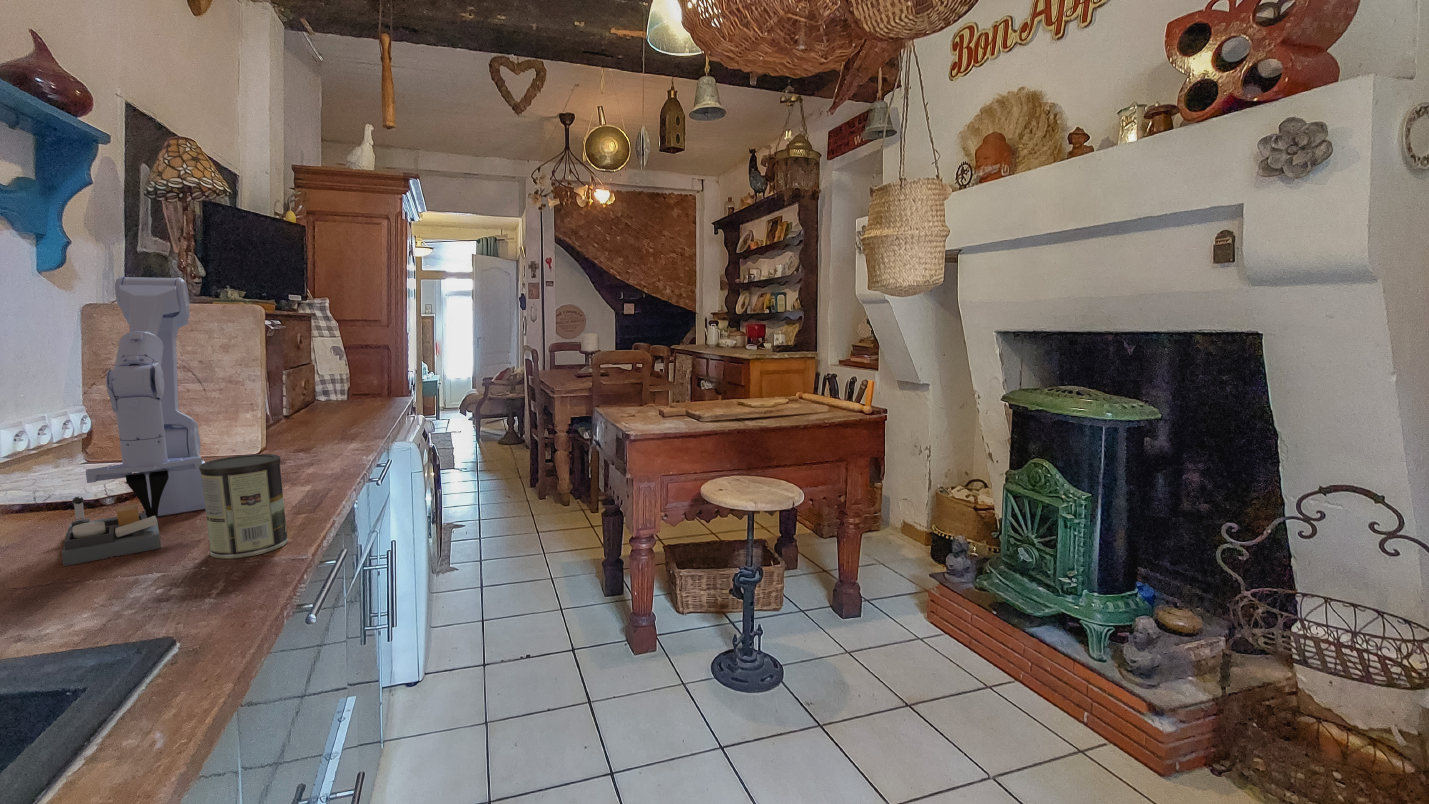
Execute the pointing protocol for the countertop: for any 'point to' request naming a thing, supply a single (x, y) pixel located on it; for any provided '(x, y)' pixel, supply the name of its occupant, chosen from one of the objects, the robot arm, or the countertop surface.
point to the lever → (78, 507)
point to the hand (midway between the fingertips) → (152, 516)
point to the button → (89, 529)
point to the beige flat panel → (136, 526)
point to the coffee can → (244, 505)
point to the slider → (127, 514)
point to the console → (108, 542)
